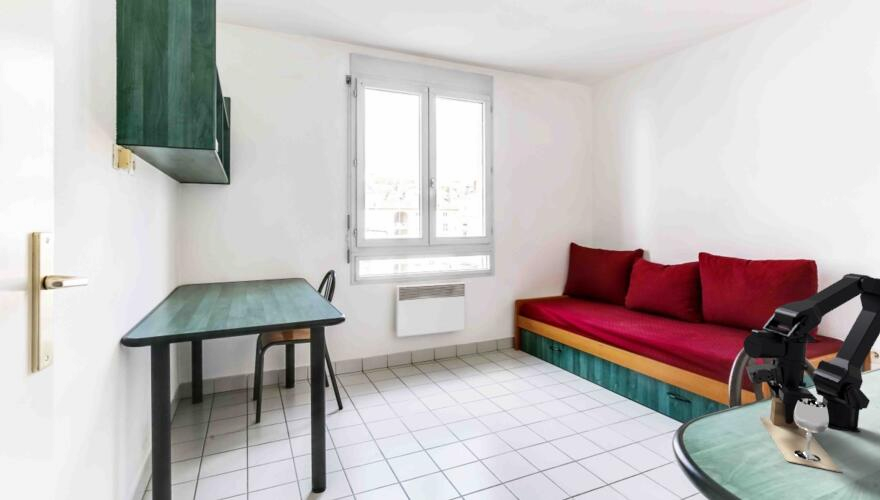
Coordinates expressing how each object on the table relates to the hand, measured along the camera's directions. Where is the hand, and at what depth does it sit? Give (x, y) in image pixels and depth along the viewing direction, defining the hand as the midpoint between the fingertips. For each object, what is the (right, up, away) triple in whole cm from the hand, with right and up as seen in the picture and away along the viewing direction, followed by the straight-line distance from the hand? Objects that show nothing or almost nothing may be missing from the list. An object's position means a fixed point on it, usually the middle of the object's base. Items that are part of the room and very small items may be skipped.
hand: (784, 418), depth 108 cm
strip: (-4, -2, -8) cm, 9 cm away
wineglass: (-7, -3, -14) cm, 16 cm away
